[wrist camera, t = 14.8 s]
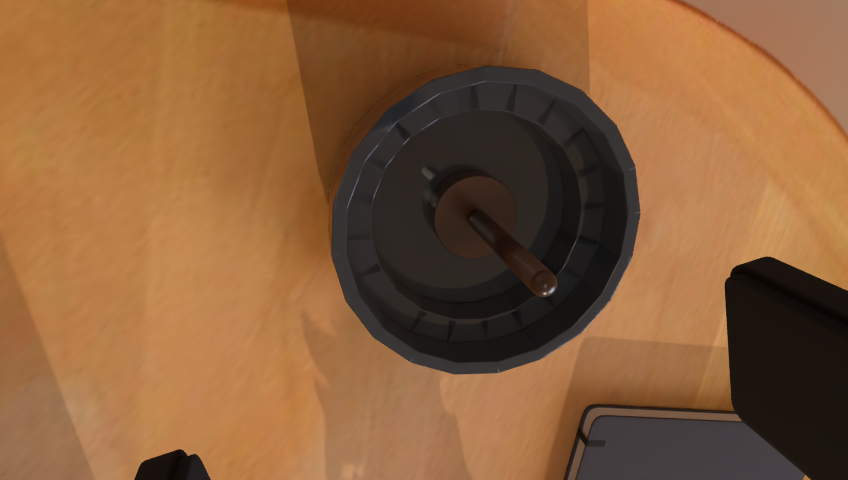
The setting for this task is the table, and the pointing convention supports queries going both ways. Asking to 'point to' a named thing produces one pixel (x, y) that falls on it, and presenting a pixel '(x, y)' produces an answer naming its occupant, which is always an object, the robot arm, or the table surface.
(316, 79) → the table surface
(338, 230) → the bowl
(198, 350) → the table surface
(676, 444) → the notebook
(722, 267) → the table surface
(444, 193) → the plunger
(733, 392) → the robot arm
